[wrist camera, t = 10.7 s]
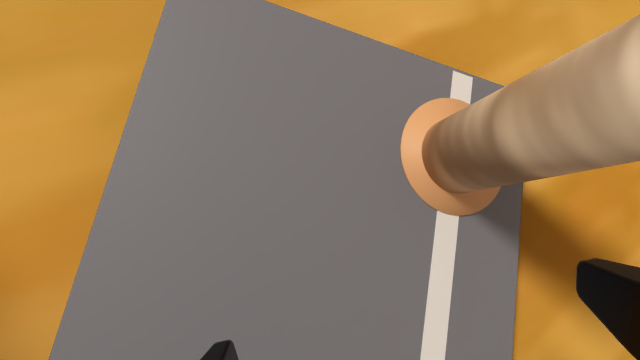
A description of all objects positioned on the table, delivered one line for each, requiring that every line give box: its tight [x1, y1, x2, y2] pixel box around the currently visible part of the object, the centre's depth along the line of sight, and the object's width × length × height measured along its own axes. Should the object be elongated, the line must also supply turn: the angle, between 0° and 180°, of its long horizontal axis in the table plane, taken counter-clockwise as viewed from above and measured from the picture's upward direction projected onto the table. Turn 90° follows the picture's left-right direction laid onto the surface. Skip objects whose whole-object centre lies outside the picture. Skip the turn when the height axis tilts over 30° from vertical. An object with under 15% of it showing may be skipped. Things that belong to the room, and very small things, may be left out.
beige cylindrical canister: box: [422, 15, 640, 193], centre depth 14 cm, size 5×5×12 cm
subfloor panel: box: [48, 0, 523, 360], centre depth 18 cm, size 19×22×2 cm
